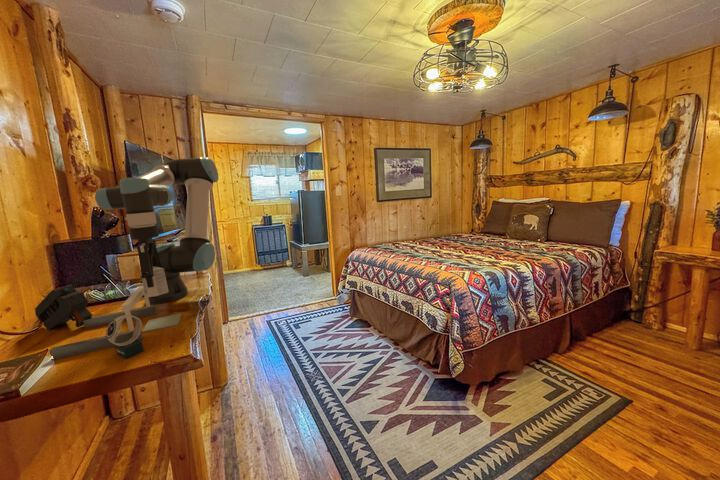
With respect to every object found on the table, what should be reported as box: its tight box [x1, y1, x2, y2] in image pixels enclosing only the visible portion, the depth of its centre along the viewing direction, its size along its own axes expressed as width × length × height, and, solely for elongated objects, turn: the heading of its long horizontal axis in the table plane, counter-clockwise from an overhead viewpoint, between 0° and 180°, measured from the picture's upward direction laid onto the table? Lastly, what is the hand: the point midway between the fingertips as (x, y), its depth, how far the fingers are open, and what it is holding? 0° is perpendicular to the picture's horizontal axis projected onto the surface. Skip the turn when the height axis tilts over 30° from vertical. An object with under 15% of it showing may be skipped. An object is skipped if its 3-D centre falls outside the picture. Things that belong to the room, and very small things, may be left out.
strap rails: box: [48, 304, 158, 360], centre depth 98 cm, size 21×24×3 cm
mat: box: [142, 313, 183, 334], centre depth 103 cm, size 10×10×1 cm
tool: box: [34, 284, 93, 331], centre depth 105 cm, size 6×19×15 cm
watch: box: [105, 315, 145, 360], centre depth 83 cm, size 6×8×11 cm
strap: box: [120, 282, 151, 332], centre depth 100 cm, size 2×24×9 cm, turn 24°
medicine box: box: [139, 266, 169, 296], centre depth 100 cm, size 8×4×9 cm, turn 56°
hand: (156, 291), depth 101 cm, fingers closed on medicine box, 9 cm apart
